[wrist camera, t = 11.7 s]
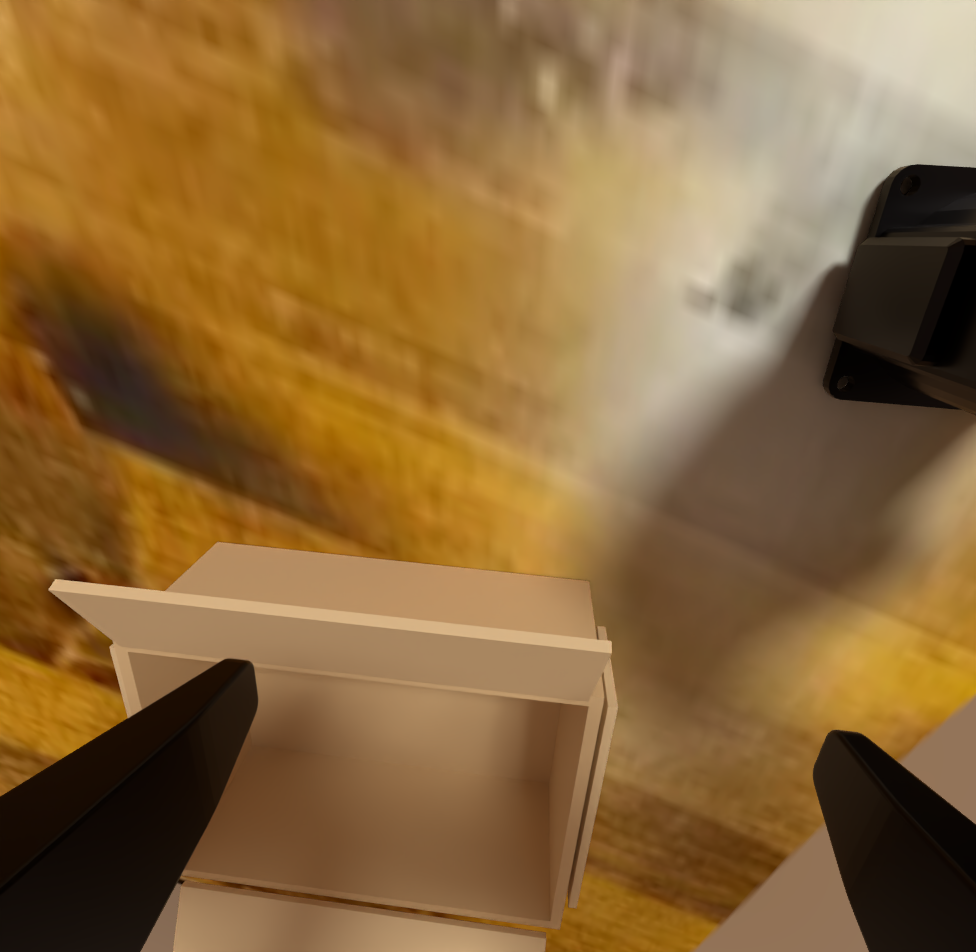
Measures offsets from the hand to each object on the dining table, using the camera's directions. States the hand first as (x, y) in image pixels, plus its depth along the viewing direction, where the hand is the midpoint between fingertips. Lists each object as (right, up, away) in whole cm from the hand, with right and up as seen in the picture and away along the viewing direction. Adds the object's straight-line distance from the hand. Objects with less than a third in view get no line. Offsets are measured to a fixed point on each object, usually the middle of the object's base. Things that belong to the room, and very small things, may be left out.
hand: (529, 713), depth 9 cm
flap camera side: (-6, -14, +12) cm, 20 cm away
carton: (-4, -5, +16) cm, 17 cm away
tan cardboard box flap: (-5, -1, +6) cm, 8 cm away
